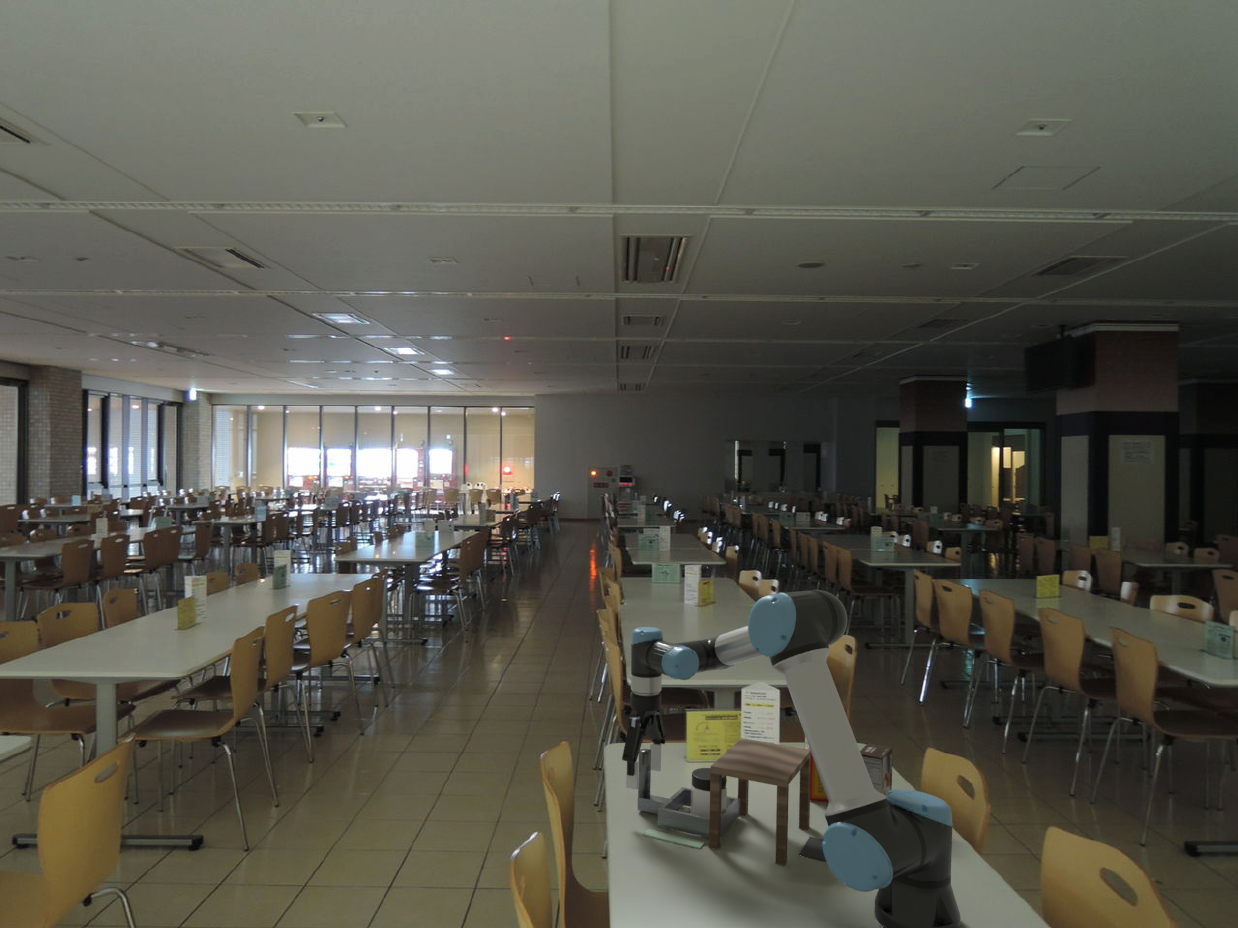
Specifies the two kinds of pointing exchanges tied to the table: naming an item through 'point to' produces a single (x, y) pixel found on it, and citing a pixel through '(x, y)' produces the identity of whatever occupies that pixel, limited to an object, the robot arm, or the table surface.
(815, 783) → the baking soda box
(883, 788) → the coffee box
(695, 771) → the jar
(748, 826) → the table surface
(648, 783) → the sled
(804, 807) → the small wooden table
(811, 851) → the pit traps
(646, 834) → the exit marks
